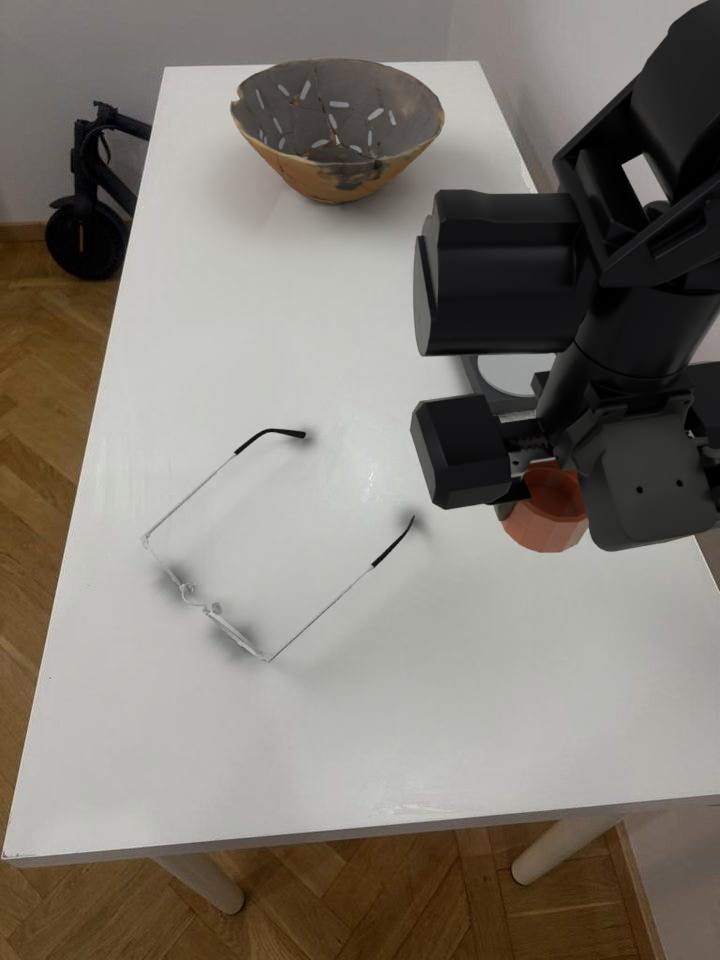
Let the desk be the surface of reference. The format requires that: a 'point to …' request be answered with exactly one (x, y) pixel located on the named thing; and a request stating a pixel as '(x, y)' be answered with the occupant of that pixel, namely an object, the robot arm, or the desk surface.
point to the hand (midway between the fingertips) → (544, 507)
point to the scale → (506, 379)
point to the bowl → (337, 124)
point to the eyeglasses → (215, 604)
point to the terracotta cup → (548, 510)
